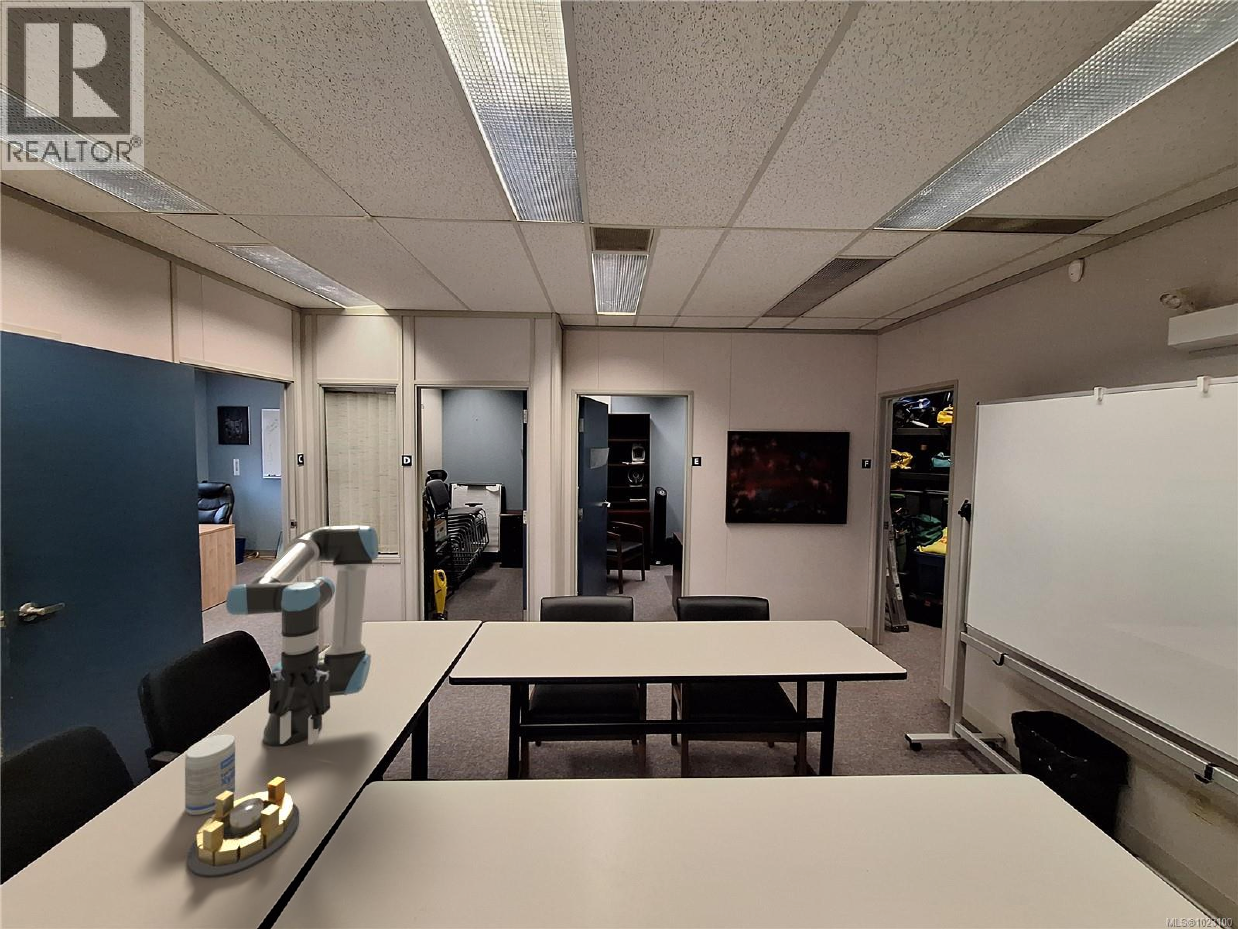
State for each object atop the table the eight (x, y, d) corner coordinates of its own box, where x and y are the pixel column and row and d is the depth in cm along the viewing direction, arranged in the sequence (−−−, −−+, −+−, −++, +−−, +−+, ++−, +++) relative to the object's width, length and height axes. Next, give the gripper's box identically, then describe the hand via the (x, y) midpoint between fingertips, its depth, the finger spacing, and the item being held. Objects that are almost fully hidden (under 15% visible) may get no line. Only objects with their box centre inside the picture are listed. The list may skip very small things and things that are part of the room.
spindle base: (257, 795, 118) (258, 769, 118) (319, 814, 113) (319, 787, 113) (163, 862, 99) (163, 831, 99) (232, 889, 94) (232, 856, 93)
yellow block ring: (256, 796, 116) (256, 769, 116) (309, 812, 112) (309, 784, 112) (177, 853, 100) (176, 822, 100) (235, 874, 95) (235, 842, 95)
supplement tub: (232, 807, 114) (232, 750, 114) (180, 823, 109) (180, 763, 108) (237, 782, 122) (238, 729, 122) (189, 796, 117) (190, 740, 116)
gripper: (348, 642, 115) (347, 732, 116) (272, 640, 115) (271, 730, 115) (330, 656, 107) (329, 751, 108) (248, 654, 107) (247, 749, 108)
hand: (299, 740), depth 112 cm, fingers open, 6 cm apart
